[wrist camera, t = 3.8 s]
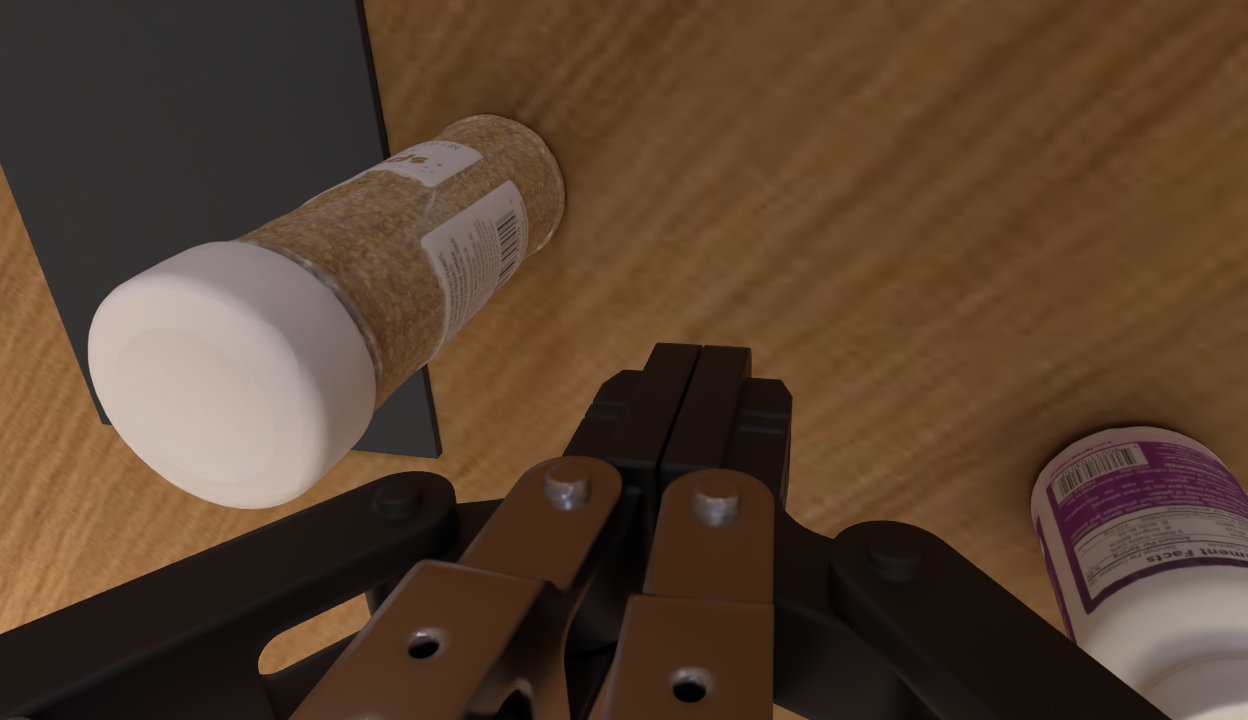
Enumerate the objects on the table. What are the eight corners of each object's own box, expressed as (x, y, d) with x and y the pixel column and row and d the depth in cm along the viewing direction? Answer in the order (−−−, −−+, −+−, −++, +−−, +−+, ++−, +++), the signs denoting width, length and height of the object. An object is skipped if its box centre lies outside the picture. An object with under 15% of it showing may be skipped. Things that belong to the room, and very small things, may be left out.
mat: (-108, -146, 25) (-122, -147, 25) (328, -192, 22) (319, -194, 21) (109, 419, 34) (102, 424, 34) (442, 453, 31) (437, 459, 30)
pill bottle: (1203, 576, 25) (1372, 891, 17) (1015, 555, 27) (1087, 838, 18) (1254, 425, 23) (1481, 707, 15) (1045, 409, 24) (1144, 661, 16)
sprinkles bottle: (467, 80, 24) (101, 220, 12) (597, 171, 24) (359, 392, 13) (407, 205, 26) (53, 422, 15) (527, 286, 26) (271, 563, 15)
